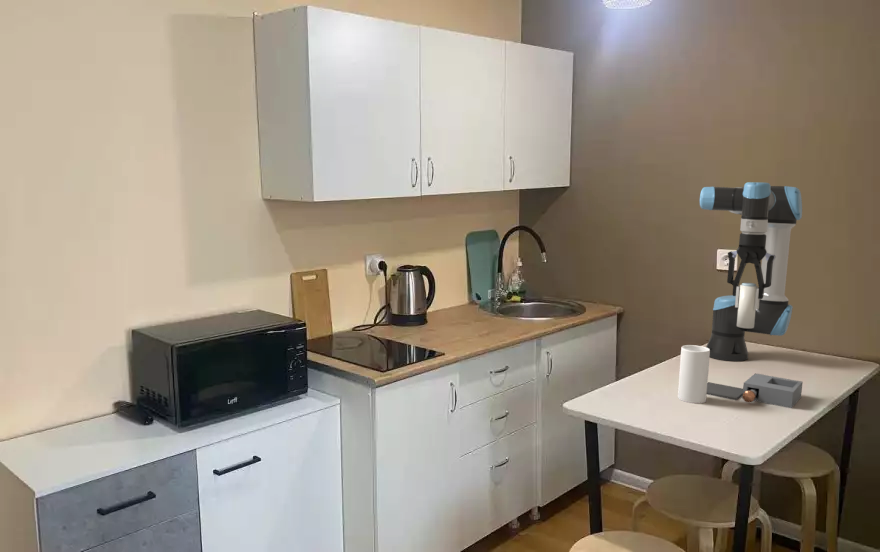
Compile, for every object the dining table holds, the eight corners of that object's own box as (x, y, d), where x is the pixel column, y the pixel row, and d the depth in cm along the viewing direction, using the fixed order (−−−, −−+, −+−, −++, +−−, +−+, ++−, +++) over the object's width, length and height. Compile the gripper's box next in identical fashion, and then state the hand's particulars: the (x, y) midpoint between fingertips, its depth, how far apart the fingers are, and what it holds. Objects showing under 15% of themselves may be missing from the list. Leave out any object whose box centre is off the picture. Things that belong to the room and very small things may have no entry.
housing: (753, 388, 234) (755, 373, 234) (801, 397, 226) (802, 381, 225) (742, 398, 223) (743, 382, 222) (791, 408, 215) (793, 392, 214)
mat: (708, 383, 238) (708, 382, 238) (746, 391, 231) (746, 389, 231) (696, 392, 229) (696, 390, 228) (736, 400, 221) (736, 398, 221)
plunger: (750, 393, 227) (751, 382, 226) (762, 395, 225) (763, 384, 224) (741, 401, 218) (742, 390, 218) (753, 403, 216) (754, 392, 216)
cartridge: (733, 325, 227) (736, 282, 225) (747, 324, 228) (751, 282, 226) (742, 328, 222) (746, 284, 220) (757, 328, 223) (761, 284, 221)
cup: (702, 395, 225) (705, 345, 223) (709, 404, 217) (713, 352, 215) (675, 394, 226) (678, 344, 224) (681, 402, 218) (684, 350, 216)
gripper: (719, 231, 223) (713, 305, 226) (782, 236, 213) (775, 313, 216) (725, 230, 229) (719, 302, 232) (787, 234, 219) (780, 309, 222)
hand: (746, 307), depth 224 cm, fingers closed on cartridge, 5 cm apart
